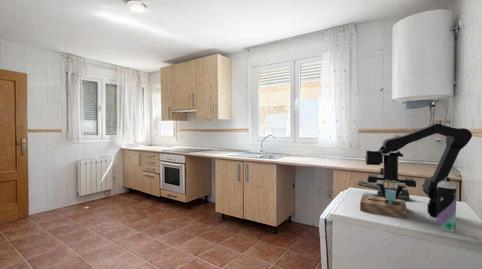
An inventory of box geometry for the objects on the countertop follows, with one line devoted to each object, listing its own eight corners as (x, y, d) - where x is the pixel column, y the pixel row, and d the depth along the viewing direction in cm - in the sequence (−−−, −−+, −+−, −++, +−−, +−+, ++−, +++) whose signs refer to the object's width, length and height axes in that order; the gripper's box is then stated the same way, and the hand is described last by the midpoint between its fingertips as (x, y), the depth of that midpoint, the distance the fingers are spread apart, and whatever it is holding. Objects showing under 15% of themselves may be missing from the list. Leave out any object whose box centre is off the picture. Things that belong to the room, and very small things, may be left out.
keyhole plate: (404, 208, 111) (404, 200, 111) (406, 217, 100) (406, 208, 100) (362, 202, 120) (362, 194, 120) (360, 210, 109) (360, 202, 109)
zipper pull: (358, 180, 141) (409, 185, 127) (358, 191, 141) (408, 197, 127) (356, 183, 133) (410, 189, 119) (356, 195, 133) (410, 202, 120)
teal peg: (395, 209, 109) (395, 190, 109) (395, 212, 106) (395, 192, 105) (385, 207, 111) (385, 189, 111) (385, 210, 108) (385, 191, 108)
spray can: (437, 229, 89) (438, 178, 88) (435, 224, 93) (436, 175, 92) (457, 233, 86) (458, 179, 85) (453, 227, 90) (454, 176, 89)
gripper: (413, 164, 109) (413, 197, 110) (368, 161, 119) (368, 191, 120) (416, 168, 100) (415, 204, 101) (367, 165, 110) (367, 197, 111)
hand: (390, 198), depth 108 cm, fingers closed on teal peg, 4 cm apart
